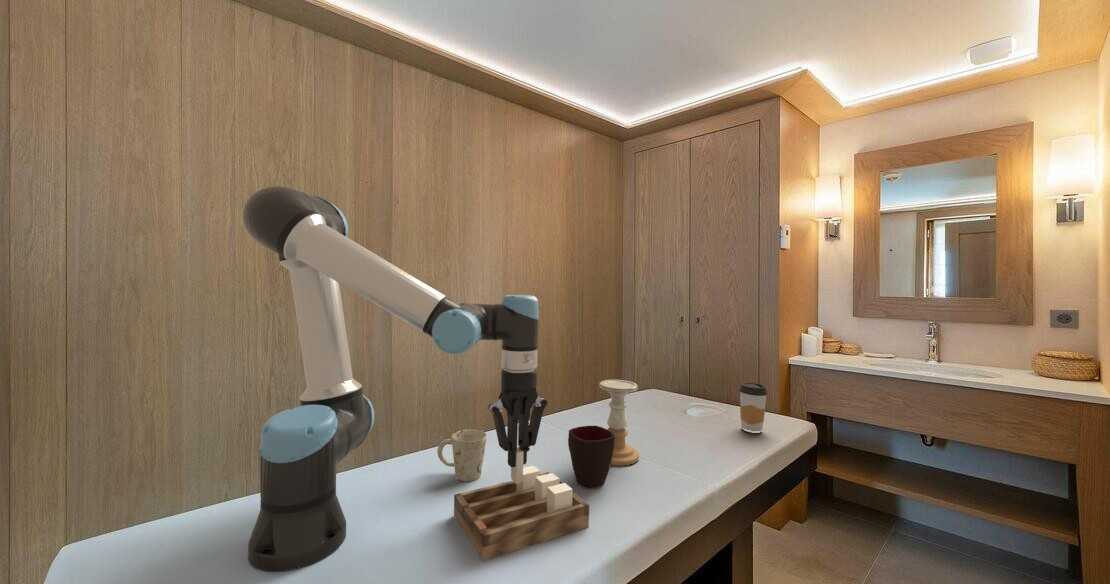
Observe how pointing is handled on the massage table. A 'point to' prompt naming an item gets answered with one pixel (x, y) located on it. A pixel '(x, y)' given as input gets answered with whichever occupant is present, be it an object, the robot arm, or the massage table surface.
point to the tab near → (559, 497)
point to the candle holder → (619, 420)
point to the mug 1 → (466, 453)
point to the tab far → (528, 478)
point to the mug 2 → (591, 454)
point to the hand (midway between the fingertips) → (516, 480)
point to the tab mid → (544, 485)
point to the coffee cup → (752, 406)
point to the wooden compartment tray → (513, 518)
